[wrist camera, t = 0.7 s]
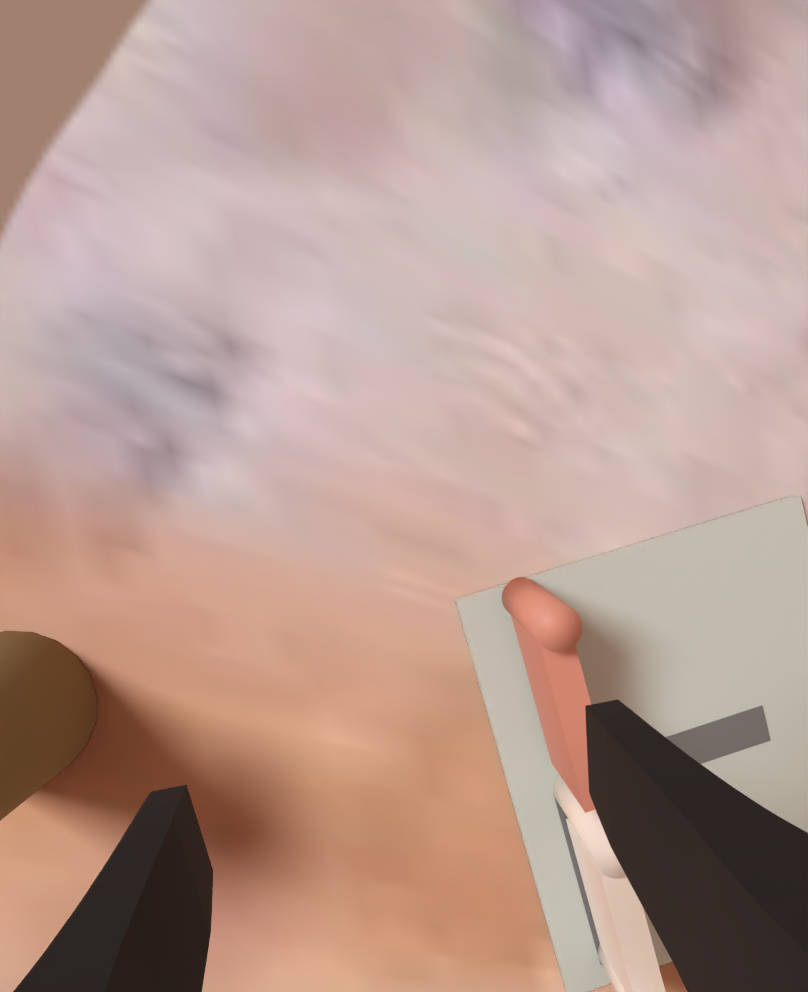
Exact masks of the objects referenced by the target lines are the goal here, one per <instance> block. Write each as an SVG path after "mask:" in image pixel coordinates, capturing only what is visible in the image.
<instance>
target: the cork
mask: <svg viewBox="0 0 808 992" xmlns="http://www.w3.org/2000/svg"><path fill="white" fill-rule="evenodd" d="M96 716H97V696H96V692H95V689H94V686H93V682H92V679H91V676H90V674H89V673H88V671H87V670H86V669H85V667H84V666H83V664H82V663H81V661H80V660H79V659H78V657H77V656H76V655H75V654H74V653H72V652H71V651H69V650H68V649H67V648H65V647H64V646H63V645H61V644H60V643H59V642H57V641H56V640H53V639H50V638H47V637H45V636H42V635H39V634H36V633H33V632H18V631H4V632H0V820H2V819H3V818H4V817H5V816H7V815H8V814H9V813H10V812H11V811H13V810H14V809H15V808H16V807H18V806H19V805H20V804H21V803H23V802H24V801H25V800H26V799H27V798H29V797H30V796H31V795H32V794H34V793H35V792H36V791H37V790H39V789H40V788H41V787H42V786H43V785H45V784H46V783H47V782H48V781H50V780H51V779H52V778H53V777H55V776H56V775H57V774H58V773H60V772H61V771H62V770H63V769H64V768H66V767H67V766H68V765H69V764H71V763H72V762H73V761H74V759H75V758H76V757H77V756H78V755H79V753H80V752H81V751H82V750H83V749H84V748H85V746H86V745H87V744H88V741H89V739H90V736H91V734H92V731H93V729H94V726H95V724H96Z"/></svg>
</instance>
